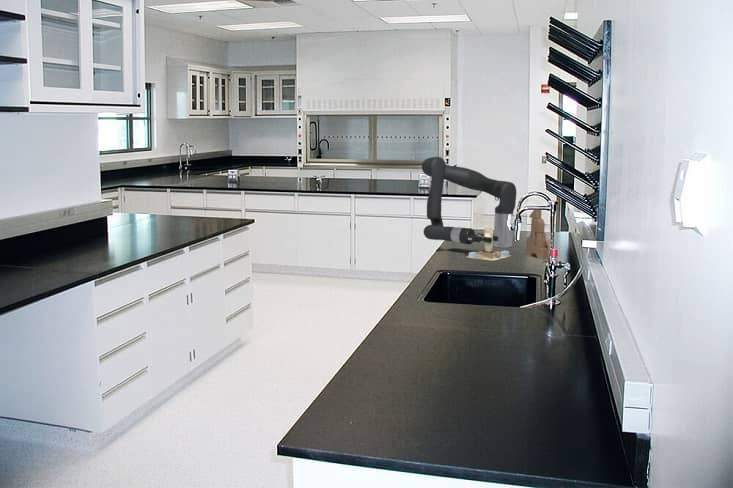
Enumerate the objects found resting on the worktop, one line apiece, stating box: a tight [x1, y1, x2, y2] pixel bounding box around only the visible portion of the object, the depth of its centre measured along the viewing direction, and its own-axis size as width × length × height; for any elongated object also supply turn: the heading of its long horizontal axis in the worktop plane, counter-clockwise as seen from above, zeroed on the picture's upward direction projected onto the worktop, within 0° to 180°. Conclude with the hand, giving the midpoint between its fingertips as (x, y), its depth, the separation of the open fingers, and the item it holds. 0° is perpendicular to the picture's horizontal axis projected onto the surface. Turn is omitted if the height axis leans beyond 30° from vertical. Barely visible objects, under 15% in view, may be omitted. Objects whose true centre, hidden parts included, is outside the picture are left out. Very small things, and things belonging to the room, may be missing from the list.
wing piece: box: [500, 250, 510, 258], centre depth 329 cm, size 6×2×2 cm, turn 140°
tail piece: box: [468, 251, 478, 259], centre depth 325 cm, size 4×2×2 cm, turn 140°
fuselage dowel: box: [483, 227, 494, 253], centre depth 325 cm, size 4×4×13 cm
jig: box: [466, 249, 511, 262], centre depth 327 cm, size 18×14×4 cm
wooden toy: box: [525, 209, 551, 263], centre depth 327 cm, size 15×7×25 cm, turn 20°
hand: (494, 239), depth 322 cm, fingers open, 5 cm apart
